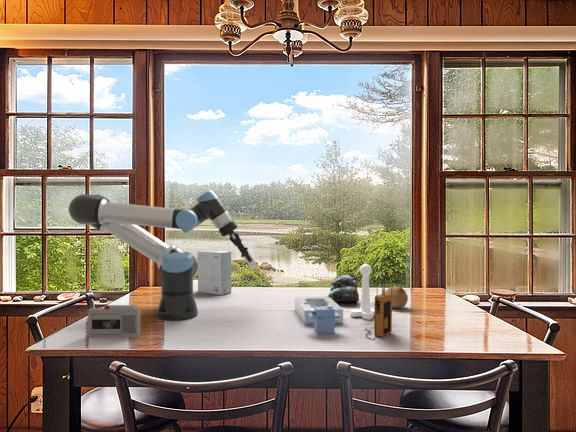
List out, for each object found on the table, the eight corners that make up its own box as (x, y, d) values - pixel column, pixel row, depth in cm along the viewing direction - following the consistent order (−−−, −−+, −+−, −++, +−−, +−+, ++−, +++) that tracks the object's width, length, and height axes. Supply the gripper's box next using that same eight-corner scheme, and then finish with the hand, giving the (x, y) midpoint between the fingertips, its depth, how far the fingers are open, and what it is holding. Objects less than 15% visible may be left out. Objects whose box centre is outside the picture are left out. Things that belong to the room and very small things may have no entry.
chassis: (304, 324, 152) (304, 310, 152) (294, 309, 173) (294, 297, 173) (343, 323, 154) (343, 309, 154) (328, 308, 175) (328, 296, 175)
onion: (404, 316, 175) (413, 296, 171) (382, 310, 175) (390, 290, 171) (400, 303, 184) (409, 284, 180) (379, 297, 184) (388, 278, 180)
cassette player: (88, 337, 136) (88, 306, 136) (91, 335, 139) (91, 304, 139) (137, 337, 137) (137, 306, 136) (140, 335, 139) (140, 304, 139)
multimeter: (370, 325, 152) (370, 268, 151) (396, 330, 145) (397, 271, 145) (348, 334, 140) (349, 273, 140) (376, 340, 134) (376, 277, 133)
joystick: (378, 314, 166) (378, 263, 166) (383, 319, 159) (384, 265, 158) (349, 314, 166) (350, 263, 165) (353, 320, 158) (354, 266, 158)
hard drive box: (232, 293, 206) (232, 251, 206) (221, 295, 200) (221, 253, 199) (207, 289, 214) (207, 249, 214) (197, 292, 208) (196, 251, 207)
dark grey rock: (320, 302, 186) (322, 272, 192) (337, 309, 193) (338, 279, 200) (349, 297, 176) (349, 265, 183) (365, 304, 184) (365, 274, 190)
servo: (310, 334, 141) (310, 307, 140) (308, 330, 145) (308, 304, 145) (340, 333, 142) (340, 306, 142) (337, 329, 146) (337, 303, 146)
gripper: (233, 219, 166) (264, 264, 168) (232, 219, 191) (259, 257, 193) (217, 230, 165) (248, 275, 167) (218, 228, 190) (245, 267, 192)
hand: (254, 266), depth 180 cm, fingers open, 13 cm apart
